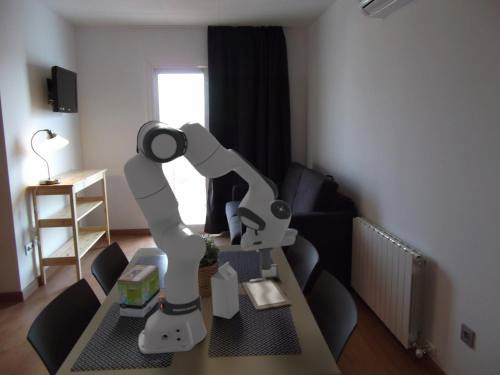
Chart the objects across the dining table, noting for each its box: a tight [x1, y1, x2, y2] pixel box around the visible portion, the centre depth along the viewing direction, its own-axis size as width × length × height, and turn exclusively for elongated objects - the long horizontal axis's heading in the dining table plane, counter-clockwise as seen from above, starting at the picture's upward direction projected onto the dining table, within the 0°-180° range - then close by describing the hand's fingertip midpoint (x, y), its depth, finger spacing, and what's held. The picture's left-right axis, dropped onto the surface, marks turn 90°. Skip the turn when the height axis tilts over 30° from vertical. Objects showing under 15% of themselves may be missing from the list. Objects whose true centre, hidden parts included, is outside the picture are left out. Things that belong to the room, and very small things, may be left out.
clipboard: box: [241, 277, 292, 312], centre depth 156 cm, size 14×24×2 cm, turn 14°
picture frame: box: [259, 263, 279, 279], centre depth 170 cm, size 8×1×6 cm, turn 104°
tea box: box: [117, 264, 161, 318], centre depth 148 cm, size 15×10×15 cm
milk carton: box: [210, 261, 240, 320], centre depth 141 cm, size 7×7×19 cm
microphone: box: [259, 248, 272, 270], centre depth 146 cm, size 4×4×13 cm
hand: (264, 249), depth 147 cm, fingers closed on microphone, 4 cm apart
